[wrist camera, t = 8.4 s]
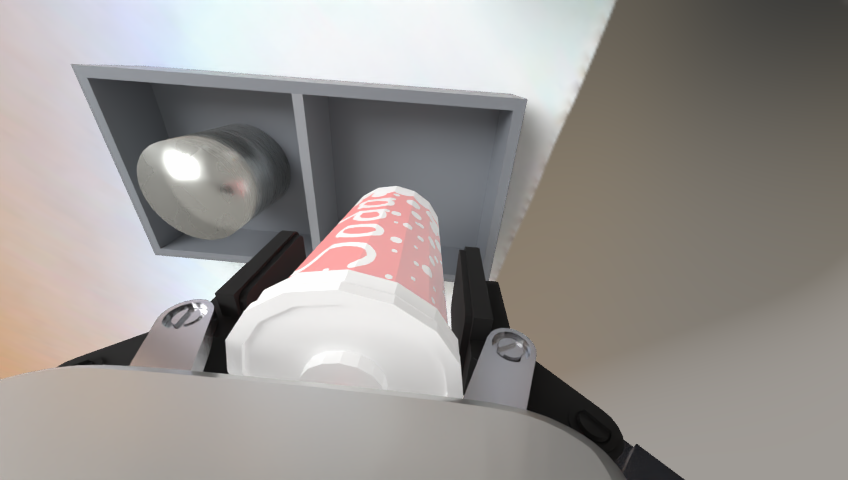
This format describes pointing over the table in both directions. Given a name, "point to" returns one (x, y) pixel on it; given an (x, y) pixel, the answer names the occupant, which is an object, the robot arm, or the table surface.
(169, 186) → the metal tin
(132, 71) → the organizer tray
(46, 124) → the table surface
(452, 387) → the beverage cup
